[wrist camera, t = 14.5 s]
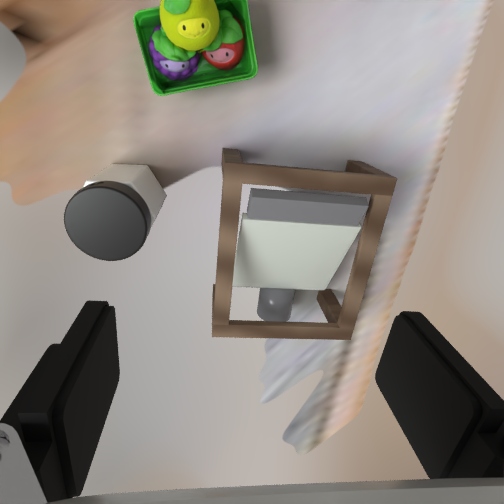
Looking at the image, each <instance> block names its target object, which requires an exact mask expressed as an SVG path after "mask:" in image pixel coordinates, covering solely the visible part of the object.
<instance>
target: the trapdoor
mask: <svg viewBox="0 0 504 504" xmlns="http://www.w3.org/2000/svg"><path fill="white" fill-rule="evenodd" d="M368 207H369V205H368V203H367V200H366V197H354V196H342V195H329V194H317V193H305V192H293V191H281V190H280V191H279V190H267V189H256V188H251V191H250V197H249V202H248V207H247V213H243V215H242V220H241V227H240V232H239V238H238V245H237V250H236V256H235V263H234V274H233V284H232V287H233V286H234V287H256V288H281V289H305V290H325V289H326V287H327V285H328V284H329V282H330V280H331V279H332V277H333V275H334V273H335V272H336V270H337V268H338V267H339V265H340V263H341V262H342V260H343V258H344V256H345V255H346V253H347V251H348V250H349V248H350V246H351V244H352V243H353V241H354V239H355V238H356V236H357V234H358V232H359V231H360V229H361V224H360V221H361V219H362V217H363V216H364V214H365V212H366V210H367V208H368Z"/></svg>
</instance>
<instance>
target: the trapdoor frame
mask: <svg viewBox="0 0 504 504" xmlns="http://www.w3.org/2000/svg"><path fill="white" fill-rule="evenodd" d="M222 172H223V187H222V188H223V189H222V201H221V202H222V203H221V215H220V216H221V217H220V229H219V243H218V257H217V271H216V284H213V302H212V337H239V338H287V339H335V340H351V336H352V333H353V330H354V326H355V323H356V319H357V316H358V312H359V309H360V305H361V302H362V299H363V295H364V292H365V288H366V285H367V281H368V278H369V274H370V271H371V268H372V264H373V261H374V257H375V254H376V250H377V247H378V243H379V240H380V236H381V233H382V230H383V226H384V223H385V219H386V216H387V212H388V209H389V205H390V202H391V199H392V195H393V192H394V188H395V185H396V181H397V178H396V177H393V176H391V175H389V174H387V173H385V172H383V171H381V170H379V169H376V168H374V167H372V166H370V165H368V164H366V163H364V162H361V161H350V160H348V161H347V166H346V170H345V172H341V171H330V170H319V169H308V168H298V167H287V166H276V165H265V164H254V163H243V161H242V158H241V156H240V153H239V151H238V150H237V149H227V148H223V150H222ZM242 183H243V184H255V185H267V186H279V187H290V188H302V189H314V190H326V191H338V192H350V193H362V194H371V197H370V201H369V207H368V209H367V212H366V216H365V220H364V224H363V228H362V231H361V235H360V239H359V243H358V247H357V250H356V254H355V258H354V262H353V266H352V269H351V273H350V277H349V281H348V285H347V289H346V292H345V296H344V300H343V304H342V307H341V305H340V304H339V302H338V300H337V299H336V297H335V295H334V294H333V292H332V290H331V289H325V290H319V291H318V296H317V301H318V303H319V305H320V307H321V309H322V311H323V313H324V315H325V317H326V319H327V321H328V323H314V322H278V321H242V320H239V321H238V320H229V314H230V305H231V294H232V284H233V274H234V263H235V253H236V242H237V232H238V222H239V211H240V201H241V190H242Z"/></svg>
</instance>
